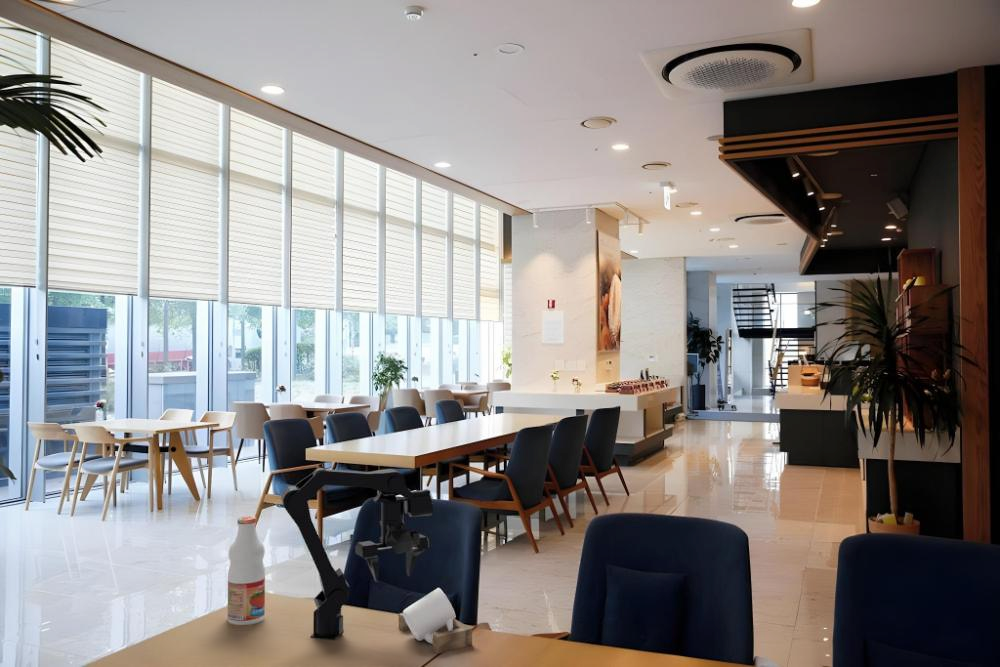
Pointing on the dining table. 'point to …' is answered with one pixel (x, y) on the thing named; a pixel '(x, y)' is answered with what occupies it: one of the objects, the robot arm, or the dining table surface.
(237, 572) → the fruit juice
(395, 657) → the dining table surface
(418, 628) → the mug
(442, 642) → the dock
